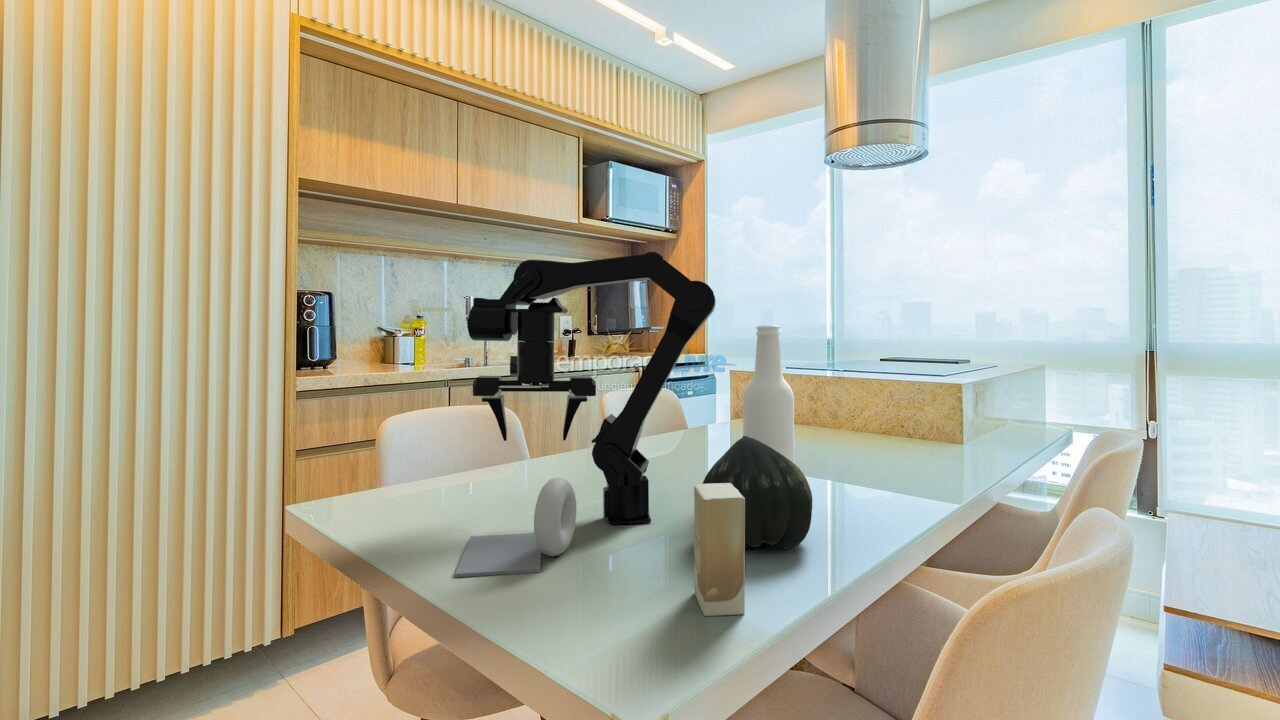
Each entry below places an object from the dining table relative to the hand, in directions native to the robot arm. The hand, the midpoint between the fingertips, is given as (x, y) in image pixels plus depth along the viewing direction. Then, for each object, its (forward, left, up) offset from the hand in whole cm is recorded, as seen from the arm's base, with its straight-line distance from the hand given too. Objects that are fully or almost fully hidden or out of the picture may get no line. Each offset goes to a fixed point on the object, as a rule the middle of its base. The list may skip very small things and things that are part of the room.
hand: (535, 440), depth 98 cm
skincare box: (-20, +36, -12) cm, 43 cm away
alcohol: (-40, -5, -12) cm, 42 cm away
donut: (-3, +18, -12) cm, 22 cm away
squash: (-30, +18, -12) cm, 37 cm away
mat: (+4, +17, -12) cm, 21 cm away
